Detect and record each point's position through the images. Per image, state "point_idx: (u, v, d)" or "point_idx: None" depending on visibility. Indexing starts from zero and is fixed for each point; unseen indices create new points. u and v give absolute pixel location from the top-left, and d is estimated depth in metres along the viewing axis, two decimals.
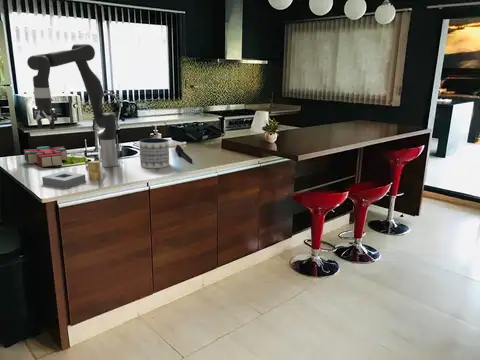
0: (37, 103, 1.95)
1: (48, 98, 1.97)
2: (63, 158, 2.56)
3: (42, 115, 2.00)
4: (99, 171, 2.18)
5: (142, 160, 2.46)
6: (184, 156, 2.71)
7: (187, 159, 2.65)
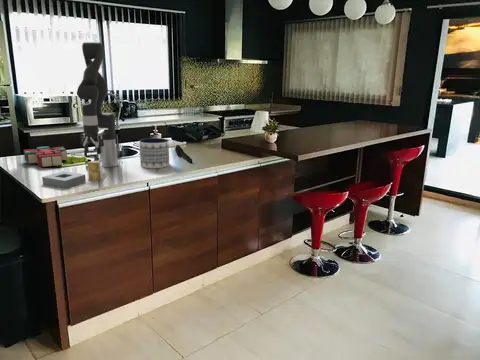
0: (86, 130, 2.08)
1: (96, 125, 2.09)
2: (63, 158, 2.56)
3: (89, 141, 2.12)
4: (99, 171, 2.18)
5: (142, 160, 2.46)
6: (184, 156, 2.71)
7: (187, 159, 2.65)
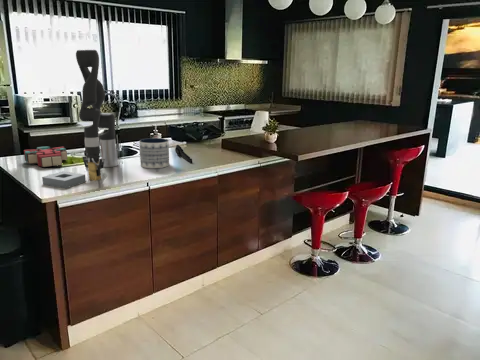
0: (88, 151, 2.11)
1: (98, 146, 2.12)
2: (63, 158, 2.56)
3: None
4: None
5: (142, 160, 2.46)
6: (184, 156, 2.71)
7: (187, 159, 2.65)
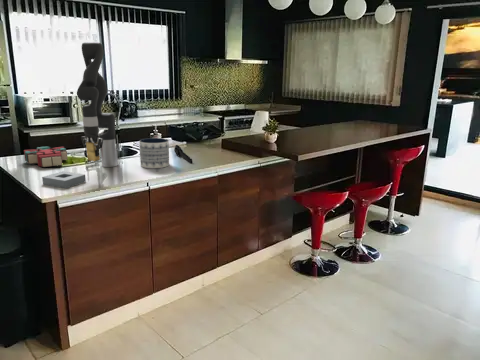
0: (86, 131, 2.08)
1: (96, 126, 2.09)
2: (63, 158, 2.55)
3: None
4: None
5: (142, 160, 2.46)
6: (184, 156, 2.70)
7: (187, 159, 2.65)
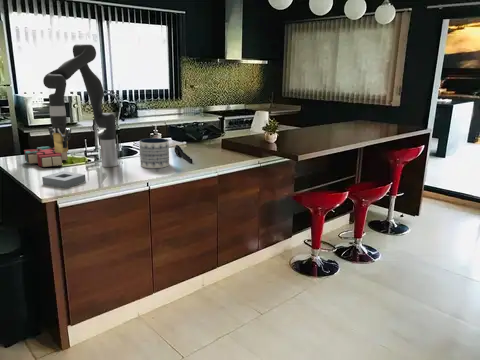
0: (53, 121, 1.98)
1: (63, 116, 2.00)
2: (63, 158, 2.55)
3: (57, 132, 2.02)
4: None
5: (142, 160, 2.46)
6: (184, 156, 2.70)
7: (187, 159, 2.65)
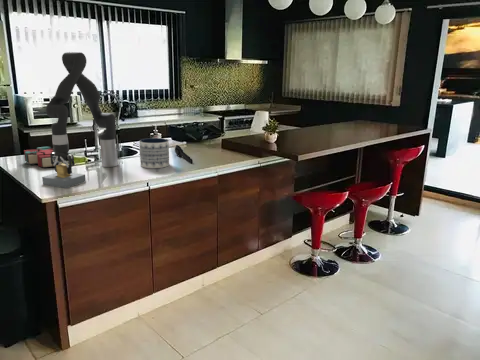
0: (55, 149, 2.02)
1: (66, 144, 2.04)
2: None
3: (60, 160, 2.06)
4: (68, 174, 2.10)
5: (142, 160, 2.46)
6: (184, 156, 2.70)
7: (187, 159, 2.64)
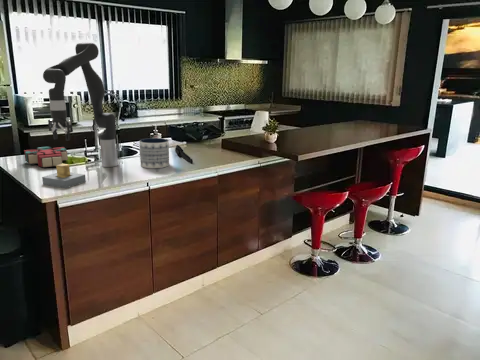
0: (53, 115, 2.00)
1: (64, 110, 2.02)
2: (64, 158, 2.55)
3: (58, 127, 2.04)
4: (68, 174, 2.10)
5: (142, 160, 2.46)
6: (184, 156, 2.70)
7: (187, 159, 2.64)
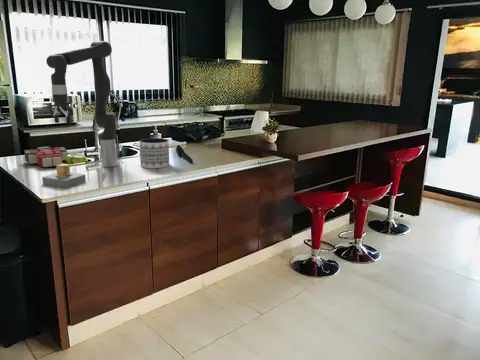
0: (55, 99, 2.10)
1: (65, 94, 2.11)
2: (64, 158, 2.55)
3: (59, 110, 2.14)
4: (68, 174, 2.10)
5: (142, 160, 2.46)
6: (185, 156, 2.70)
7: (188, 159, 2.64)
